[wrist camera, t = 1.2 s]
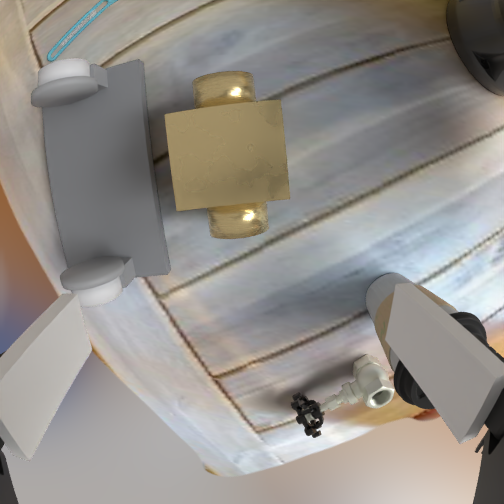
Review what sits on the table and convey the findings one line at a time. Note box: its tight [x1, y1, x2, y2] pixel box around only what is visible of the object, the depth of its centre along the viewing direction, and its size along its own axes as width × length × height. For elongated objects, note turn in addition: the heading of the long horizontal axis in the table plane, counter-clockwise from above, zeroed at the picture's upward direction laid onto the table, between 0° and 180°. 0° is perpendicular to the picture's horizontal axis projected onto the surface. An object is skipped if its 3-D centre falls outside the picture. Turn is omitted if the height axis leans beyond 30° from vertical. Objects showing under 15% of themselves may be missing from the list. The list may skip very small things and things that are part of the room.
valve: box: [291, 355, 394, 438], centre depth 35 cm, size 7×7×12 cm
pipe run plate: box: [31, 58, 171, 308], centre depth 25 cm, size 12×22×9 cm, turn 6°
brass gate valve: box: [164, 71, 290, 239], centre depth 25 cm, size 8×13×9 cm, turn 6°
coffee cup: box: [365, 273, 487, 409], centre depth 27 cm, size 9×9×15 cm
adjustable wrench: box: [47, 0, 118, 61], centre depth 23 cm, size 14×1×5 cm
